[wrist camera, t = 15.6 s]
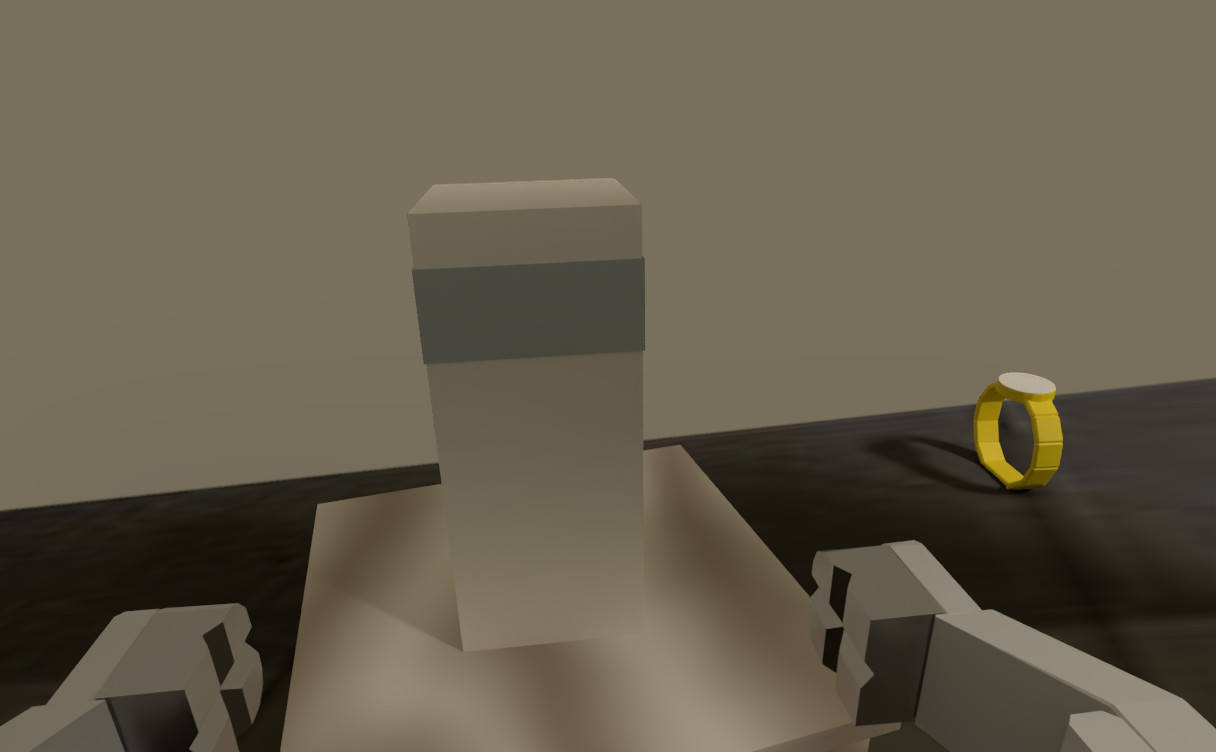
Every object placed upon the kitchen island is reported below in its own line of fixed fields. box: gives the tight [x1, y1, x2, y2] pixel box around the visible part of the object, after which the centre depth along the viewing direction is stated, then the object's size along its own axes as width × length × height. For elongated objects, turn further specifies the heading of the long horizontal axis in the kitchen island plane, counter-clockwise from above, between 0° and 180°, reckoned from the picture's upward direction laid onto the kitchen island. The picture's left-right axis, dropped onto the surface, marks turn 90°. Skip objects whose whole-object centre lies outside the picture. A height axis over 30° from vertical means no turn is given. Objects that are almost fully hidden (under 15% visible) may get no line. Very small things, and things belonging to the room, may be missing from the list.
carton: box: [407, 178, 645, 652], centre depth 22 cm, size 6×6×13 cm
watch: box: [973, 373, 1063, 490], centre depth 39 cm, size 6×3×6 cm, turn 3°
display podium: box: [280, 445, 901, 752], centre depth 25 cm, size 16×16×5 cm
